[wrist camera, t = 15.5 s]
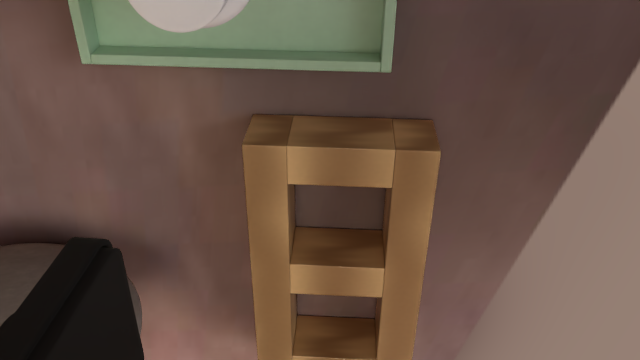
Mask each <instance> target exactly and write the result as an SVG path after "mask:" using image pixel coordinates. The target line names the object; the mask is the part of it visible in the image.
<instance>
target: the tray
mask: <svg viewBox="0 0 640 360" xmlns="http://www.w3.org/2000/svg"><path fill="white" fill-rule="evenodd" d="M68 5H69V9H70V13H71V18H72V22H73V27H74V31H75V36H76V40H77V44H78V49H79V53H80V58H81V62H82V64H104V65H140V66H175V67H210V68H245V69H280V70H316V71H351V72H386V73H390V72H391V70H392V57H393V44H394V32H395V19H396V7H397V0H250V1H249V2H248V4H247V5H246V6H245V8H244V9H243V10H242V11H241V12H240V13H239V14H238V15H237V16H235V17H234V18H233V19H231V20H230V21H228V22H226V23H224V24H222V25H219V26H216V27H211V28H201V29H199V30H196V31H192V32H186V33H177V32H170V31H166V30H163V29H161V28H158V27H156V26H154V25H152V24H151V23H149V22H147V21H146V20H145V19H144V18H143V17H141V16H140V15H139V14H138V13H137V12H136V10H135V9H134V8H133V7H132V5H131V4H130V2H129V1H128V0H68Z"/></svg>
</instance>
